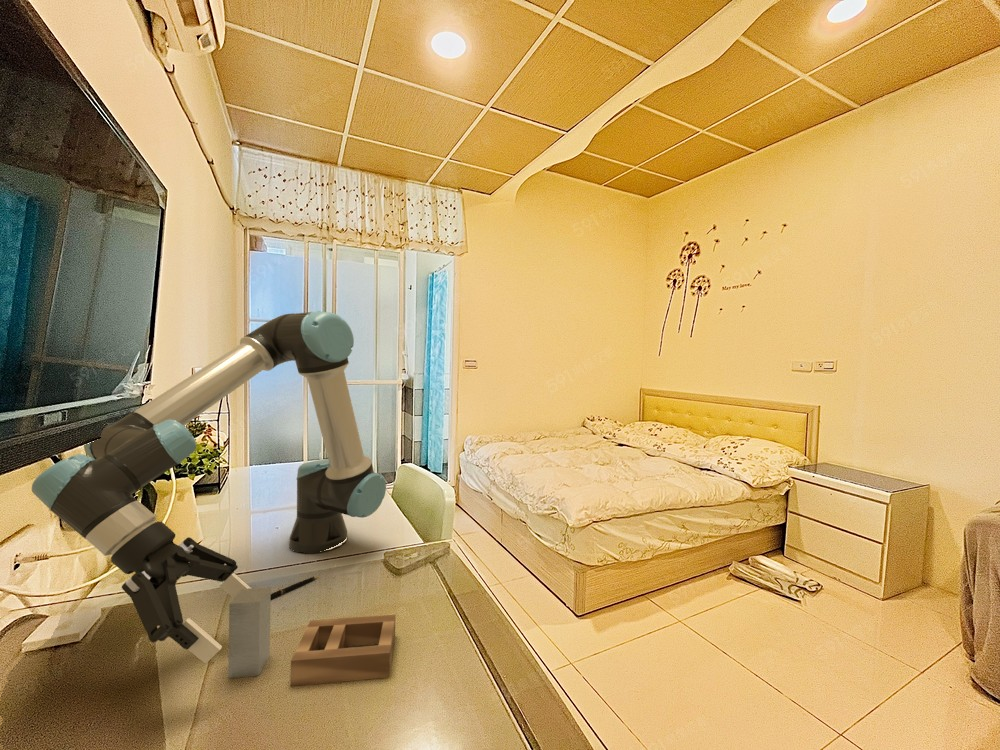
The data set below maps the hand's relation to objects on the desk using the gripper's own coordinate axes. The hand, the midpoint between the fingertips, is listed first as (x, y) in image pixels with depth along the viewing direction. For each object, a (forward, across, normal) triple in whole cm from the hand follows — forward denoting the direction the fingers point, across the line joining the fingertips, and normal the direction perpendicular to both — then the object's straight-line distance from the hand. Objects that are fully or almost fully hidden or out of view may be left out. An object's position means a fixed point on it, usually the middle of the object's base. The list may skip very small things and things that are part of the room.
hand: (236, 626), depth 68 cm
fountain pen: (+6, -25, -5) cm, 26 cm away
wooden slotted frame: (+17, -1, +7) cm, 19 cm away
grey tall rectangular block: (+7, -1, -4) cm, 8 cm away
